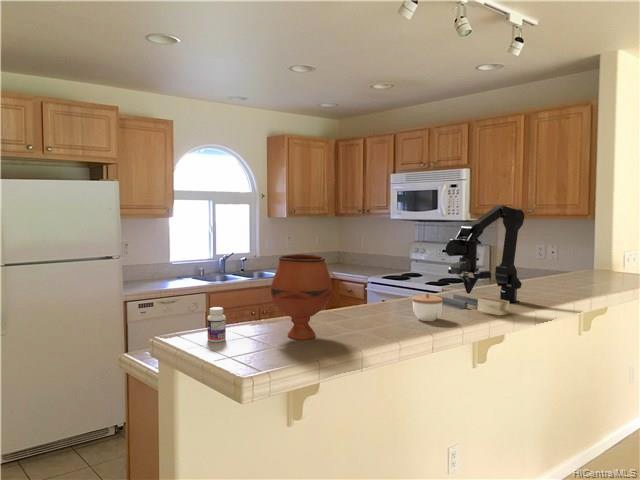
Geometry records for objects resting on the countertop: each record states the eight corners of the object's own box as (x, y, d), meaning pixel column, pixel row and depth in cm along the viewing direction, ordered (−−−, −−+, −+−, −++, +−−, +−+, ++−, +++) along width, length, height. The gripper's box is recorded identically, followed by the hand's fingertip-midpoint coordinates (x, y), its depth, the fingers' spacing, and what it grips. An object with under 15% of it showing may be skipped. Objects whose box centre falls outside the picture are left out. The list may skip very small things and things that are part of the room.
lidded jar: (424, 323, 178) (425, 297, 177) (405, 317, 187) (406, 292, 187) (448, 320, 183) (449, 294, 182) (429, 315, 192) (429, 290, 191)
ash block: (487, 309, 204) (488, 297, 204) (509, 314, 196) (509, 301, 196) (477, 311, 201) (477, 298, 201) (498, 315, 193) (499, 302, 192)
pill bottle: (208, 337, 157) (208, 306, 156) (226, 337, 157) (226, 306, 156) (206, 342, 151) (206, 310, 151) (224, 342, 152) (224, 310, 151)
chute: (460, 299, 224) (460, 293, 224) (487, 305, 210) (488, 299, 210) (432, 302, 217) (432, 296, 217) (459, 309, 203) (459, 303, 203)
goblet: (282, 347, 147) (282, 260, 146) (262, 331, 165) (262, 254, 163) (342, 340, 155) (343, 258, 153) (317, 326, 172) (318, 252, 171)
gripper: (438, 254, 212) (437, 291, 213) (471, 258, 196) (470, 298, 197) (458, 253, 218) (457, 289, 219) (492, 257, 201) (491, 296, 202)
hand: (468, 293), depth 209 cm, fingers closed
